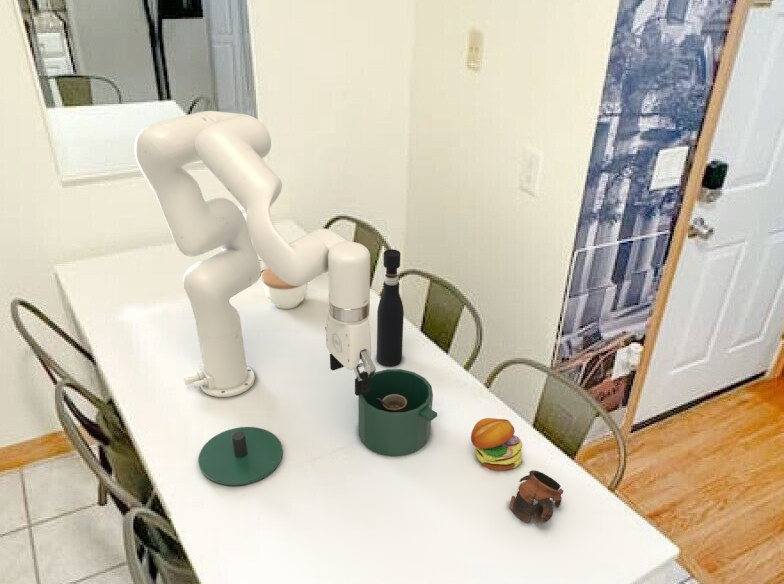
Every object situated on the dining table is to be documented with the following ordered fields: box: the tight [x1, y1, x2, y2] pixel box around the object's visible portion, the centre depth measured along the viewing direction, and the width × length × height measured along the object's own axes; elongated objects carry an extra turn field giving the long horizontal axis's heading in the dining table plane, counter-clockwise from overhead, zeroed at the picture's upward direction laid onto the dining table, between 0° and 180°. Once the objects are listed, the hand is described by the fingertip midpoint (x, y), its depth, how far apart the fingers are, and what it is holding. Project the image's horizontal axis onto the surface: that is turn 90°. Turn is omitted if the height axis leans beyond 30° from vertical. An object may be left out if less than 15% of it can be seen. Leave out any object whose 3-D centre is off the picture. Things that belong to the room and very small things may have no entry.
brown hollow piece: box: [509, 469, 564, 524], centre depth 123 cm, size 12×9×8 cm
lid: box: [198, 426, 284, 486], centre depth 130 cm, size 17×17×6 cm
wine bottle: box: [376, 248, 405, 368], centre depth 155 cm, size 6×6×30 cm
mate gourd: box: [377, 394, 408, 412], centre depth 138 cm, size 7×8×10 cm
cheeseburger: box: [470, 417, 523, 471], centre depth 135 cm, size 10×11×10 cm
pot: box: [355, 368, 438, 457], centre depth 138 cm, size 16×21×12 cm
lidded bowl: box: [261, 268, 309, 310], centre depth 181 cm, size 13×13×11 cm
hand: (349, 380), depth 130 cm, fingers open, 9 cm apart
